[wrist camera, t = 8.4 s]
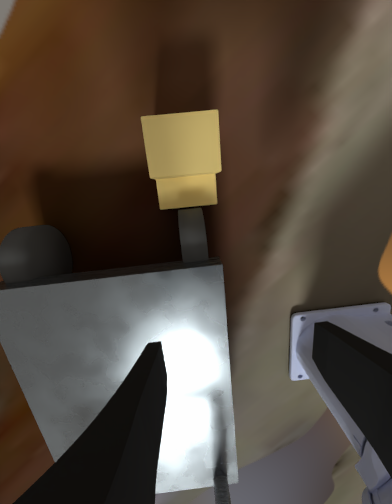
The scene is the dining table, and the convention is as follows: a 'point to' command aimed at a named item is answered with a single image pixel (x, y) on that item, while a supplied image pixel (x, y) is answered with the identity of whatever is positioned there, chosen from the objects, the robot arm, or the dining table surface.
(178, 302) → the trolley
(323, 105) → the dining table surface
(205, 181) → the yellow cube-like block
